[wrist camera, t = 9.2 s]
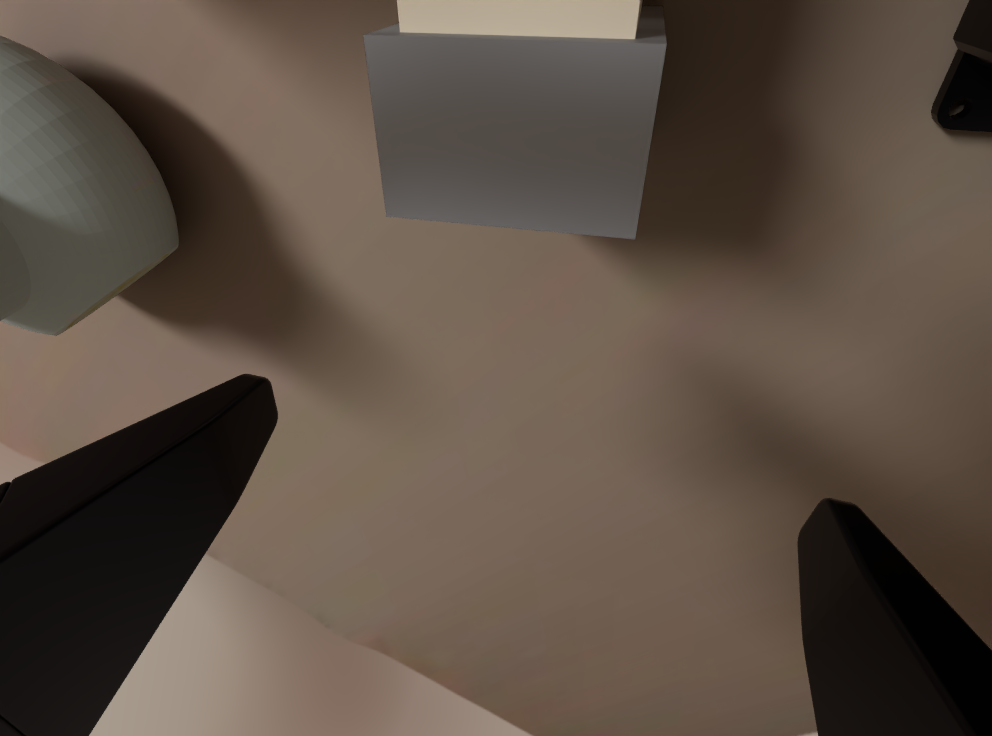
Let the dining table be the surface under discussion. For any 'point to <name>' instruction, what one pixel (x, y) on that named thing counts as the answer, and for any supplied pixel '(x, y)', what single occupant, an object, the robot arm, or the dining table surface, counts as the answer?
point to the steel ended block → (517, 111)
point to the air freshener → (70, 197)
